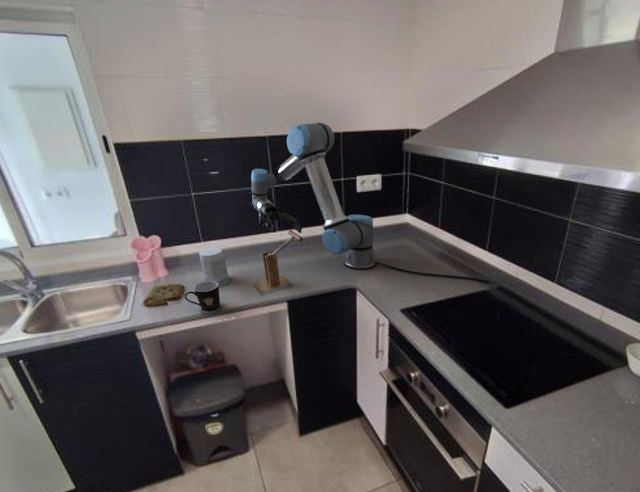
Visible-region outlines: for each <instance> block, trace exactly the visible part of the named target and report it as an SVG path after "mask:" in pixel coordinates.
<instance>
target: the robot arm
mask: <svg viewBox="0 0 640 492" xmlns="http://www.w3.org/2000/svg"><path fill="white" fill-rule="evenodd" d="M334 144H335V133H334V130H333V129H332V127H330V126H329V125H328V124H326V123H325V122H313V123H300V124H297V125H294V126H292V127H290V129H289V131H288V133H287V136H286V145H287V149H288V152H289V153H290V155H291V156H290V157H289V158H288V159H285V161H284V162H283V163H281V164H280V166H279V167H280V168H279V167H278V168H279V170H278V177H279V179H280V180H282V181H287V180H289V179H291V180H292V178H293V177H294V176H296V175H297V174H299V172H300V171H302V170H303V169H305V171H306V173H307V176H308V178H309V182H310V184H311V187H312V190H313V193H314V195H315V199H316V201H317V203H318V206H319V209H320V212H321V215H322V218H323V220H324V223H323V225H322V228H323V230H324V231H323V233H322V237H321V241H322V244H323V246H324V247H325V249H326V250H327V251H328V252H329V253H331V254H333V255H341V254H345V257H344V265H345V266H346V267H347V268H349V269H352V270H368V269H372V268H374V267H375V266H376V265H380V266H383V267H386V268H389V269H393V270H397V271H401V272H405V273H409V274H415V275H416V274H417V275H424V276H432V277H443V278H444V277H445V278H455V279H465V280H473V281H477V282H485V283H490V280H488V279H482V278H477V277H472V276H471V277H470V276H461V275H452V274H439V273H431V272H430V273H429V272H421V271H413V270H409V269H405V268H404V269H403V268H399V267H396V266H393V265H389V264H386V263H382V262H378V261H377V257H376V253H375V251H374V219H373V217H371V216H369V215H364V214H350V215H348V216H347V215H345V213H344V212H343V209H342V205H341V203H340V200H339V197H338V194H337V192H336V188H335V186H334V183H333V180H332V177H331V175H330V172H329V168H328V166H327V162H326V159H325V158H326V156H327V153H328V152H329V151H331V149H332V148H333V146H334ZM268 172H269V171H268V170H267V169H265V168H264V169H263V168H254V169H253V170H252V171H251V177H250V181H251V182H250V183H251V192H252V204H253V206H254V207H253V206H252V207H253V208H254V209H255V210H256V211H257V213H258V218H259V221H258V224H259V225H262V227H264V228H265V227H266V228H268V229H269V230H270V231H271V232H272V233H275V231H276V226H275V224H274V223H273V222H272V221H276V222H277V221H278V222H279V223H284V224H287V225H289V226H292V228H293V229H294V230H296V232H298V233H299V234H302V230H303V227H302V226H301V225H300V219H299V220H298V219H297V218H295V217H293V216H292V215H291V216H290V215H289V214H287V213H286V212H283V213H281V212H279V210H278V208H277V206H276V205H274V204H273V203H272V201H270V200H269V199H268V189H272V188H274V187H273V186H275V185H276V184H277V183H278V178H277V177H276V176H275V175H273V174H268ZM271 187H272V188H271ZM253 194H254V195H253ZM256 195H257V196H256Z"/></svg>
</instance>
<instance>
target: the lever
mask: <svg viewBox="0 0 640 492" xmlns="http://www.w3.org/2000/svg"><path fill="white" fill-rule="evenodd" d="M287 233H288V234H289V235H290V238H288V239H287V240H286V241H285V242H283V243H282V244H281V245H280V246H279V247H278V248H277V249H275V250H274V251H273V253H272V254H277V255H278V253H280V252H281V251H282V250H283V249H284V248H286V247H287V246H288V245H289V244H290V243H292V241H294V240H296V241H298V242H301V243H302V242H303V241H304V238H303V237H302V236H300V235H299V234H298V233H296V232H295V231H294V230H292V229H289V230H288V232H287ZM272 254H271V253H269V254H267V255H272ZM267 255H266V256H267ZM266 256H265V258H266Z"/></svg>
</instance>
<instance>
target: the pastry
mask: <svg viewBox="0 0 640 492" xmlns="http://www.w3.org/2000/svg"><path fill="white" fill-rule="evenodd" d="M184 287H185V285H183V284H180V283H170V284H162V285H157V286H154V287H152V288H151V289H150V291H149V292H148V295H147V296H146V297H145V299H144V300H143V303H142V304H143V305H144V306H149V307H150V306H160V305H165V304H167V305H168V302H177V301H179V300H180V299H181V298H182V295H184Z"/></svg>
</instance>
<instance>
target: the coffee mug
mask: <svg viewBox="0 0 640 492" xmlns="http://www.w3.org/2000/svg"><path fill="white" fill-rule="evenodd" d="M193 290H194V291H187V292H186V293H185V294H184V299H185V300H186V301H187V302H189V303H191V304H194V305H196V306H199V307H200V308H201V310H202V311H203V312H213V311H216V310H218V309H219V308H220V307H221V301H220V287H219V284H218V283H217V282H215V281H206V280H205V281H202V282H199V283H197V284H196V285H194V286H193ZM190 294H192V295H194V296H195V297H196V298H197V301H198V302H196V301H193V300H190V299H188V298H187V296H188V295H190Z"/></svg>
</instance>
